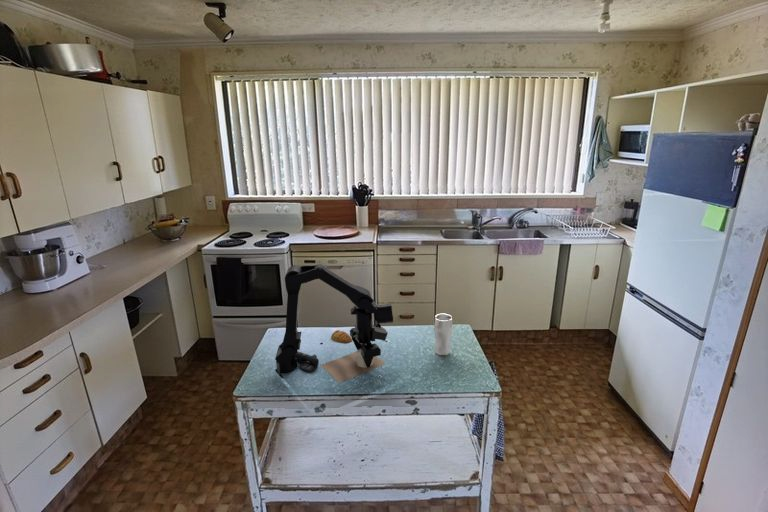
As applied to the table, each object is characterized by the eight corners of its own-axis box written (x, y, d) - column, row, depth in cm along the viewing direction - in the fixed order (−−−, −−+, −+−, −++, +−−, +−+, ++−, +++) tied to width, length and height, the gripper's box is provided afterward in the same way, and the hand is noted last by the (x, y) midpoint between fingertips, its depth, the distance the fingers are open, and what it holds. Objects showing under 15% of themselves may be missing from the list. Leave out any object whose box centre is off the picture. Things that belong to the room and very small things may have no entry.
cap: (359, 368, 141) (359, 357, 140) (355, 360, 147) (354, 349, 146) (375, 365, 143) (374, 355, 142) (370, 357, 149) (370, 347, 147)
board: (339, 386, 134) (339, 382, 133) (320, 367, 144) (320, 364, 144) (386, 366, 145) (386, 363, 145) (365, 350, 156) (365, 348, 155)
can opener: (324, 368, 144) (323, 355, 143) (309, 377, 139) (308, 363, 137) (293, 353, 155) (292, 341, 153) (278, 361, 150) (277, 348, 148)
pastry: (356, 342, 163) (355, 333, 162) (344, 348, 158) (344, 340, 157) (340, 335, 169) (340, 327, 168) (329, 341, 164) (328, 333, 163)
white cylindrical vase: (454, 354, 153) (456, 319, 148) (438, 357, 150) (440, 322, 146) (445, 345, 159) (446, 312, 155) (430, 349, 156) (431, 315, 152)
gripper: (394, 331, 135) (394, 370, 139) (376, 310, 152) (377, 346, 156) (364, 336, 131) (365, 377, 136) (348, 314, 148) (350, 351, 152)
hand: (365, 361), depth 145 cm, fingers open, 7 cm apart
